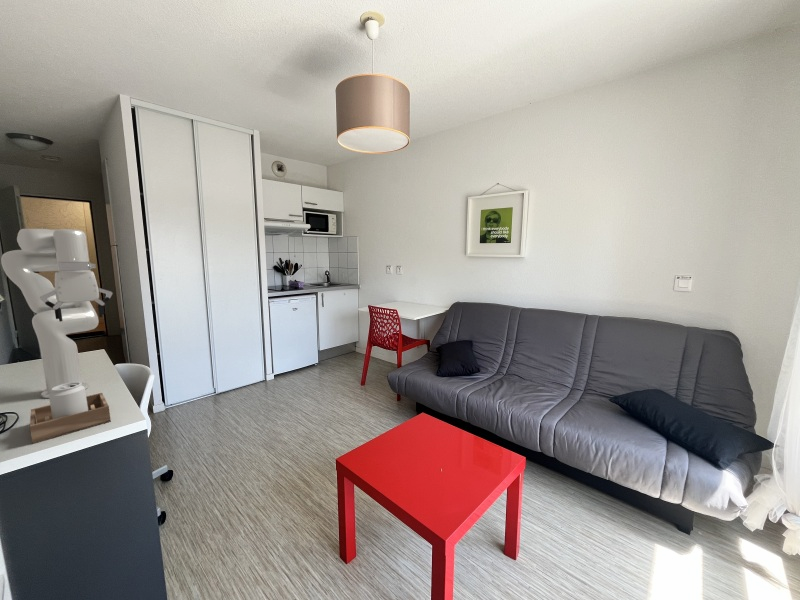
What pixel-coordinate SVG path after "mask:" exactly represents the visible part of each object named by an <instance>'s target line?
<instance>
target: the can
mask: <svg viewBox="0 0 800 600" xmlns="http://www.w3.org/2000/svg"><path fill="white" fill-rule="evenodd" d="M51 390H52V392H51V393H50V394H49V398H48V399H49V405H51V411H52V417H53V420H54V419H57V418H61V417H65V416H69V415H73V414H77V413H81V412H85V411H88V405H87V399H86V396H87V394H86V393H87V392H86V389H85V387H84V386H82V385H81V383H80V382H73V383H66V384H62V385H59V386H56V387H54V388H52V389H51Z"/></svg>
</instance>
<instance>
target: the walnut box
mask: <svg viewBox="0 0 800 600" xmlns="http://www.w3.org/2000/svg"><path fill="white" fill-rule="evenodd" d="M86 399H87V405H88V411H85V412H81V413H77V414H73V415H69V416H65V417H61V418H57V419H54V420H53V417H52V411H51V405H50V404H48V405H43V406H39V407H35V408H31V409H30V419H29V429H30V437H31V441H32V445H34V444H37V443H41V442H44V441H49V440H51V439H55V438H58V437H62V436H65V435H70V434H72V433H73V434H74V433H76V432H79V431H83V430H86V429H90V428H94V427H96V426H100V425H101V426H102V425H104V424H107V423H111V421H112V419H111V414H110V406H109V404H108V402H107V400H106V398H105V395H104V394H103V392H100V393H96V394H91V395H86Z"/></svg>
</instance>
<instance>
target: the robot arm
mask: <svg viewBox="0 0 800 600" xmlns="http://www.w3.org/2000/svg"><path fill="white" fill-rule="evenodd" d="M16 241H17V243H18V246H19V247H20V249H15V250H10V251H6V252H4V253H3V254H2V255H1V257H0V258H1V260H0V263H1V266H2V269H3V271H4V273H5V274H6V276H7V277H8V279H10V281H12V283H14V285H16V286H17V287H18V288H19V290H21V294H22V295H23V296H24V299H25V301H26V303H27V305H28V307H29V308H30V310H31V311H32V312H34V313H35V315H34V316H33V317H32V319H31V323H32V327H33V328H32V329H33V330H34V333H35V335H36V337H37V341H38V344H39V349H40V350H39V351H40V355H41V361H42V368H43V373H44V374H43V375H44V380H45V381H44V382H45V386H46V390H44V391H42V392H41V394H40V396H41V397H42V398H44V399H49V394H50V393H51V392H52V390H51V389H52V388H54V387H56V386H59V385H62V384H66V383H73V382H80V383H81V385H82V386H84V387H85V390H86V389H88V388H89V383H87V382H83V378H82V377H83V376H82V372H81V366H80V365H81V364H80V358H79V351H78V346H77V344H76V343H77V342H75V341H74V340H73V339H72V338H70V337H68V336H67V335H70V334H75V333H83V332H87V331H88V332H89V331H91V330H95V329H96V328H97V327H98V326H99V318H103V315H105V313H106V312H105V307H104V306H105V305H106V304H107V303H108V302H109V301H110V299H111V297H112V296H113V294H114V293H113V292H112V291H110V290H107V289H103V288H100V287H98V282H97V279H96V276H95V275H96V274H95V273H94V271H92V269H97V266H96V265H97V264H96V263H91V262H90V257H89V248H88V241H87V236H86V233H85V232H84V231H83V230H80V229H71V228H70V229H69V228H65V229H64V228H63V229H61V228H59V229H48V228H22V229H21V228H20V229H19V231H18V233H17V237H16ZM55 271H56V272H55ZM36 272H54V273H55V274H54V285H53V284H52V282H51V280H49V279H48V278H46V277H45V276H43V275H42V274H39V273H36ZM100 293H102V294H105V297H104V298H103V299H102V300H101V299H100ZM93 301H94V302H96V303H97V304H98V305H97V312H98V313H97V312H96V309H95V308H94V307H93V304H92V303H91V302H93Z"/></svg>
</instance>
